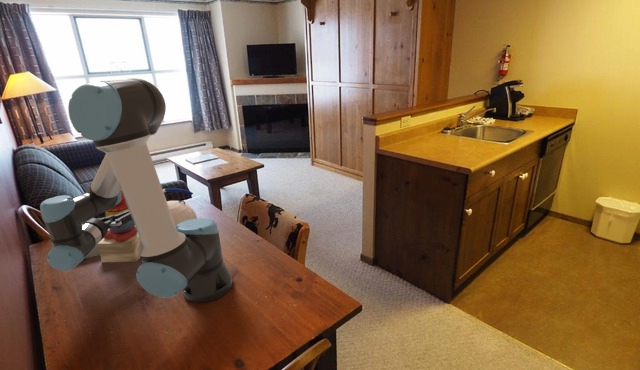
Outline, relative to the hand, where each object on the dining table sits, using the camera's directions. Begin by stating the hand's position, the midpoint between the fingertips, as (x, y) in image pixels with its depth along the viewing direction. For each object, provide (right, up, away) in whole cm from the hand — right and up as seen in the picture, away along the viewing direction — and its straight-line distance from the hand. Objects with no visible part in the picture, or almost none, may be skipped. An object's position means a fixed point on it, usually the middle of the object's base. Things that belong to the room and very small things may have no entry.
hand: (118, 206), depth 125 cm
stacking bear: (0, -11, +3) cm, 11 cm away
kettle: (+10, -11, +25) cm, 29 cm away
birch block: (+1, -19, +6) cm, 19 cm away
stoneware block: (-15, -18, +8) cm, 25 cm away
